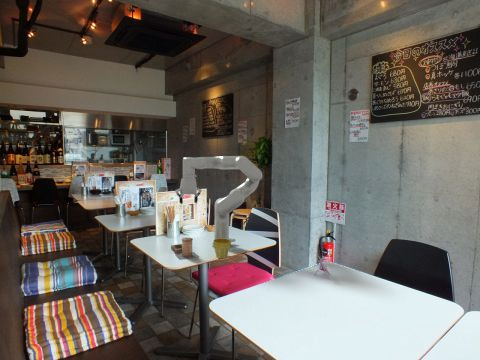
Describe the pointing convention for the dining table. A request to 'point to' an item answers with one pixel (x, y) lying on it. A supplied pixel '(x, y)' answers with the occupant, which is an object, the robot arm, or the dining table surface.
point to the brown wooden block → (187, 247)
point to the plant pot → (221, 247)
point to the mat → (186, 257)
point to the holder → (176, 248)
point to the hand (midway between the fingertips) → (188, 203)
